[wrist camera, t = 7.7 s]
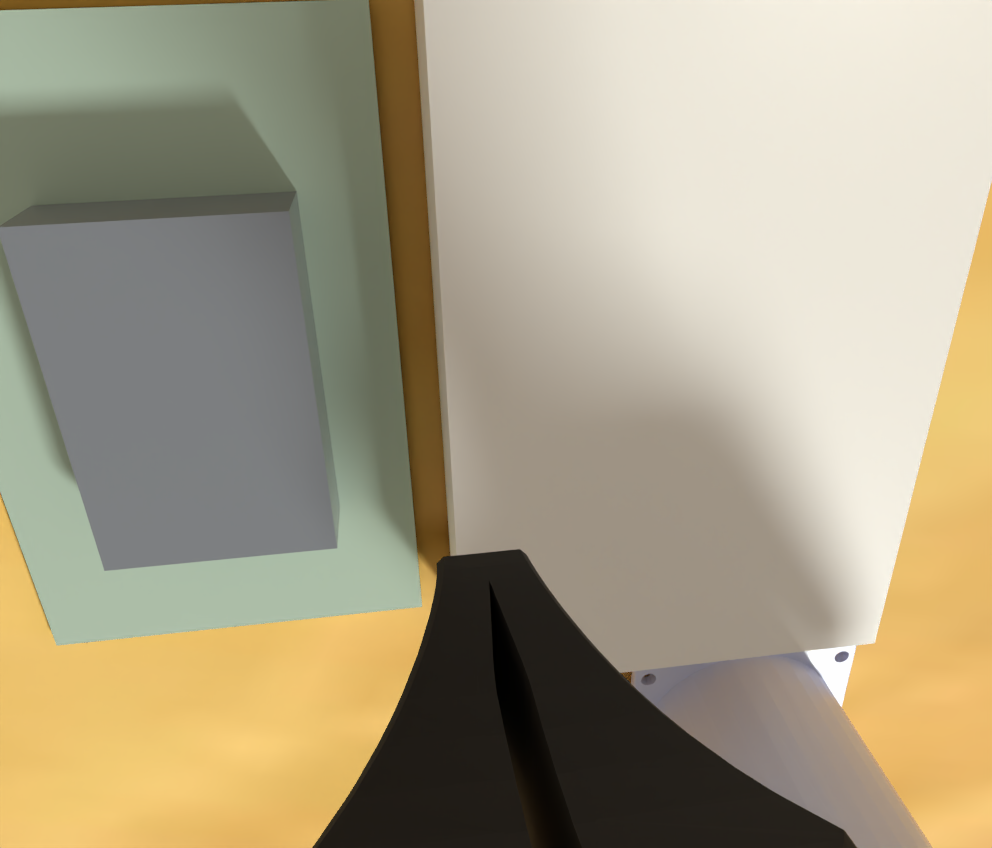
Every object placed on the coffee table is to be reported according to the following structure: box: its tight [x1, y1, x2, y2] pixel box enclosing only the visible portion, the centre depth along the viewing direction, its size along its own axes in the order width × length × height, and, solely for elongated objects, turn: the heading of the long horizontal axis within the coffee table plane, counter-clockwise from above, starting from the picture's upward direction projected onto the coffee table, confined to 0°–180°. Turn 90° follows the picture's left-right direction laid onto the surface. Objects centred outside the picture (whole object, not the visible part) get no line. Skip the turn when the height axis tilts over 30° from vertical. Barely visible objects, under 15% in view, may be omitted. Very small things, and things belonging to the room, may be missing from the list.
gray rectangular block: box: [0, 191, 340, 571], centre depth 20 cm, size 9×6×2 cm, turn 1°
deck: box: [414, 0, 992, 673], centre depth 21 cm, size 17×12×4 cm
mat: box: [0, 0, 422, 645], centre depth 21 cm, size 17×11×1 cm, turn 1°
